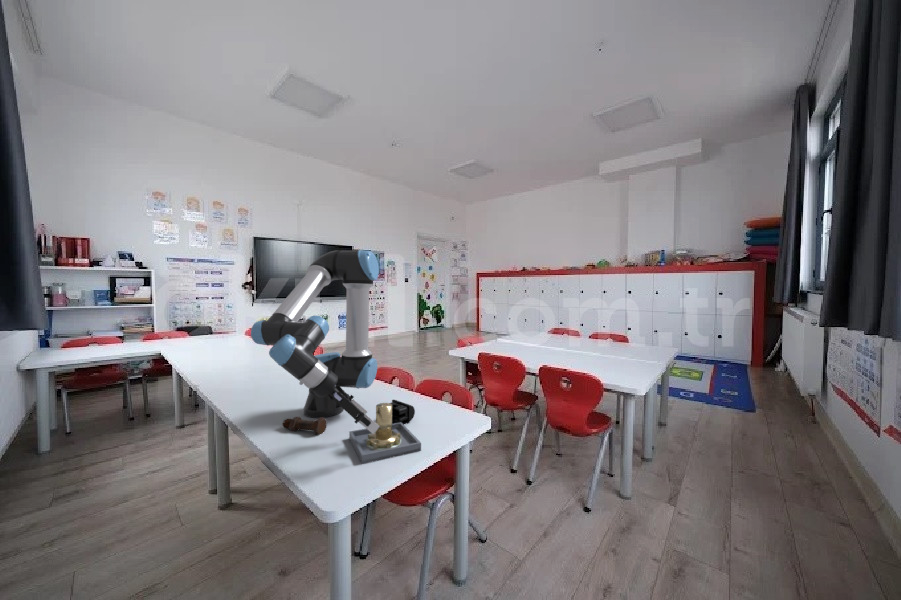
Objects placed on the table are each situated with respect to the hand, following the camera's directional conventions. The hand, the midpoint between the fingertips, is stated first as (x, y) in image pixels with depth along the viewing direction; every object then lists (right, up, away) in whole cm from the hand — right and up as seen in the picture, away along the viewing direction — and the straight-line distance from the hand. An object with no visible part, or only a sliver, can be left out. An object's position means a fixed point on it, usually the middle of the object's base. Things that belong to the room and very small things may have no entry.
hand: (370, 421), depth 104 cm
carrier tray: (+4, -8, +3) cm, 9 cm away
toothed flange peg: (+4, -7, +3) cm, 8 cm away
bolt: (-26, -8, +12) cm, 30 cm away
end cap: (+6, -8, +23) cm, 25 cm away
